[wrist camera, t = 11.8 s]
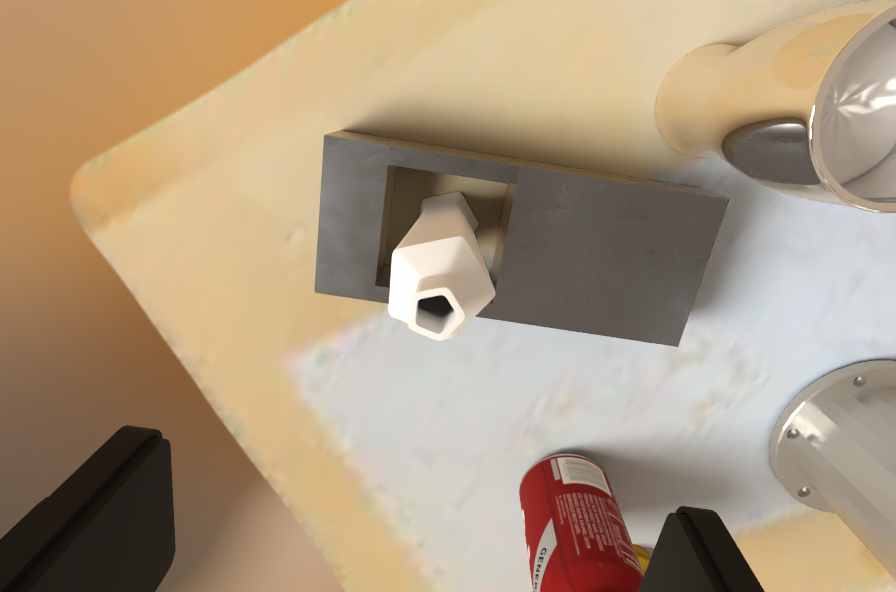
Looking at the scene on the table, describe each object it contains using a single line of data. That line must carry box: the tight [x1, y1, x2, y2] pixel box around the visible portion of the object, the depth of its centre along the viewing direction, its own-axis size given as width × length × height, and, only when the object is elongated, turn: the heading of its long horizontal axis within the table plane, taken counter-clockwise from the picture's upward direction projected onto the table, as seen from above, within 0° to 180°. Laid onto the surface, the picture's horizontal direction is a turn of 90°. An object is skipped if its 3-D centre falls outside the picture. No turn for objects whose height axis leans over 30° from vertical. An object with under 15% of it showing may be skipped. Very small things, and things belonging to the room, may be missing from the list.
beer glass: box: [655, 0, 896, 213], centre depth 23 cm, size 7×7×15 cm
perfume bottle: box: [389, 192, 496, 341], centre depth 26 cm, size 5×4×15 cm
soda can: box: [519, 454, 644, 592], centre depth 35 cm, size 7×7×12 cm
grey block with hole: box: [315, 130, 729, 347], centre depth 31 cm, size 22×9×4 cm, turn 81°
